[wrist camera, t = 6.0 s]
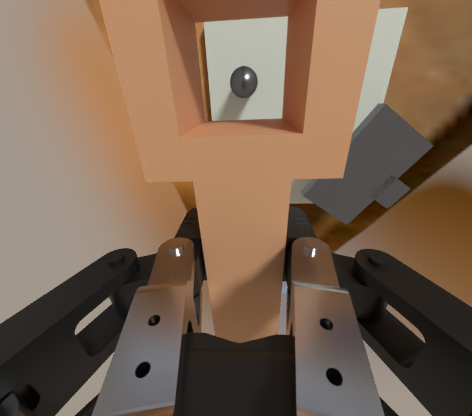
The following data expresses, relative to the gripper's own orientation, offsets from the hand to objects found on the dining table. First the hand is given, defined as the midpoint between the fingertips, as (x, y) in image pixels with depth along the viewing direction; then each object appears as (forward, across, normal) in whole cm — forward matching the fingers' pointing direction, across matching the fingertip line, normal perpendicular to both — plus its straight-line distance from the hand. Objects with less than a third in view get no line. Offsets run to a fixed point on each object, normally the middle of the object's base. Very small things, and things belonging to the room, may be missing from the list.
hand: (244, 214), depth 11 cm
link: (0, 0, -2) cm, 2 cm away
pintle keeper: (+15, -7, -1) cm, 16 cm away
